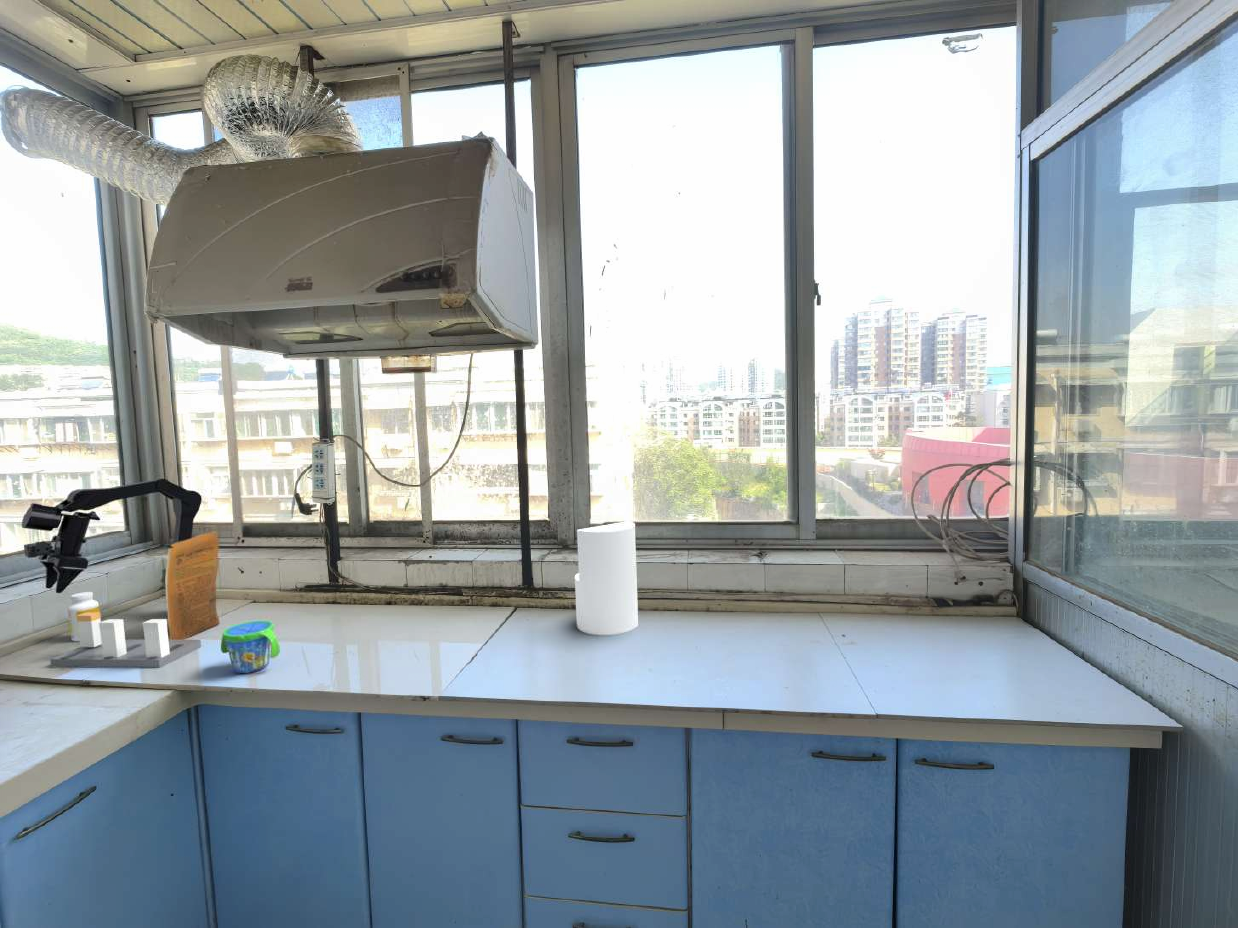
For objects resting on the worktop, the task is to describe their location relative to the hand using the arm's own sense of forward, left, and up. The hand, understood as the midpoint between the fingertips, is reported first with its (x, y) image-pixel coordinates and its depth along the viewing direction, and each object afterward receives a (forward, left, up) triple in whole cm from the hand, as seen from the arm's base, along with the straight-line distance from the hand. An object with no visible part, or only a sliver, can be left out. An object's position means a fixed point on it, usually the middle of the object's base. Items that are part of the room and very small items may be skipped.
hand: (53, 590), depth 163 cm
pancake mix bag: (-33, -5, -16) cm, 37 cm away
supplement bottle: (-2, -7, -16) cm, 18 cm away
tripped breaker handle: (-13, +8, -14) cm, 20 cm away
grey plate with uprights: (-24, +12, -16) cm, 31 cm away
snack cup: (-61, +27, -16) cm, 69 cm away
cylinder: (-150, +18, -16) cm, 152 cm away
